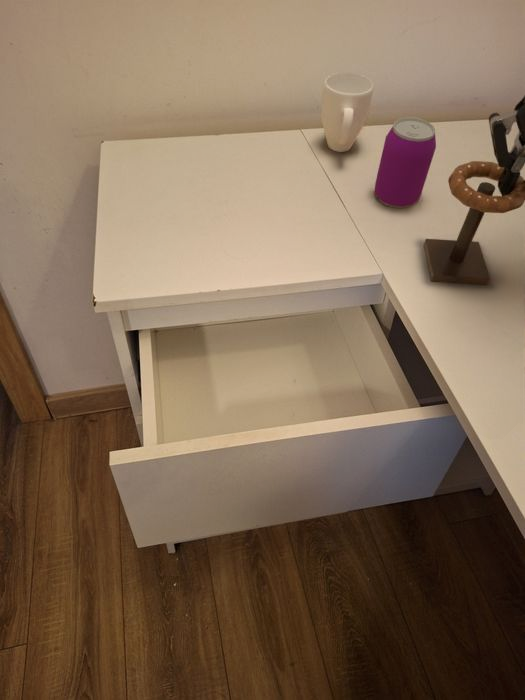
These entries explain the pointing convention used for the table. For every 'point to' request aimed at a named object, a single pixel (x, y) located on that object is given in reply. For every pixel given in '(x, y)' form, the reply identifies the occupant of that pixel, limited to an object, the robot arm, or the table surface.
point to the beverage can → (405, 162)
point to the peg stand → (460, 251)
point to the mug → (345, 108)
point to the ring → (480, 200)
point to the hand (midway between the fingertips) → (514, 194)
